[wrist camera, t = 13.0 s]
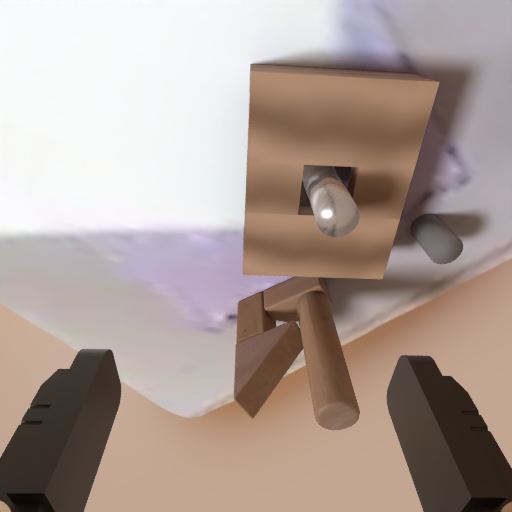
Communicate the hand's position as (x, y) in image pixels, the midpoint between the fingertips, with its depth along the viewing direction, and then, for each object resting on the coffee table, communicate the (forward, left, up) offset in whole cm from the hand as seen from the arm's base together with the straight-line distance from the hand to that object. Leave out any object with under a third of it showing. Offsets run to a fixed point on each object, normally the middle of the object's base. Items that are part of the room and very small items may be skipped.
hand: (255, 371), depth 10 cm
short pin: (+10, +20, -29) cm, 36 cm away
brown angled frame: (+20, +5, -29) cm, 35 cm away
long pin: (+4, +7, -29) cm, 30 cm away
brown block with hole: (+4, +7, -29) cm, 30 cm away
